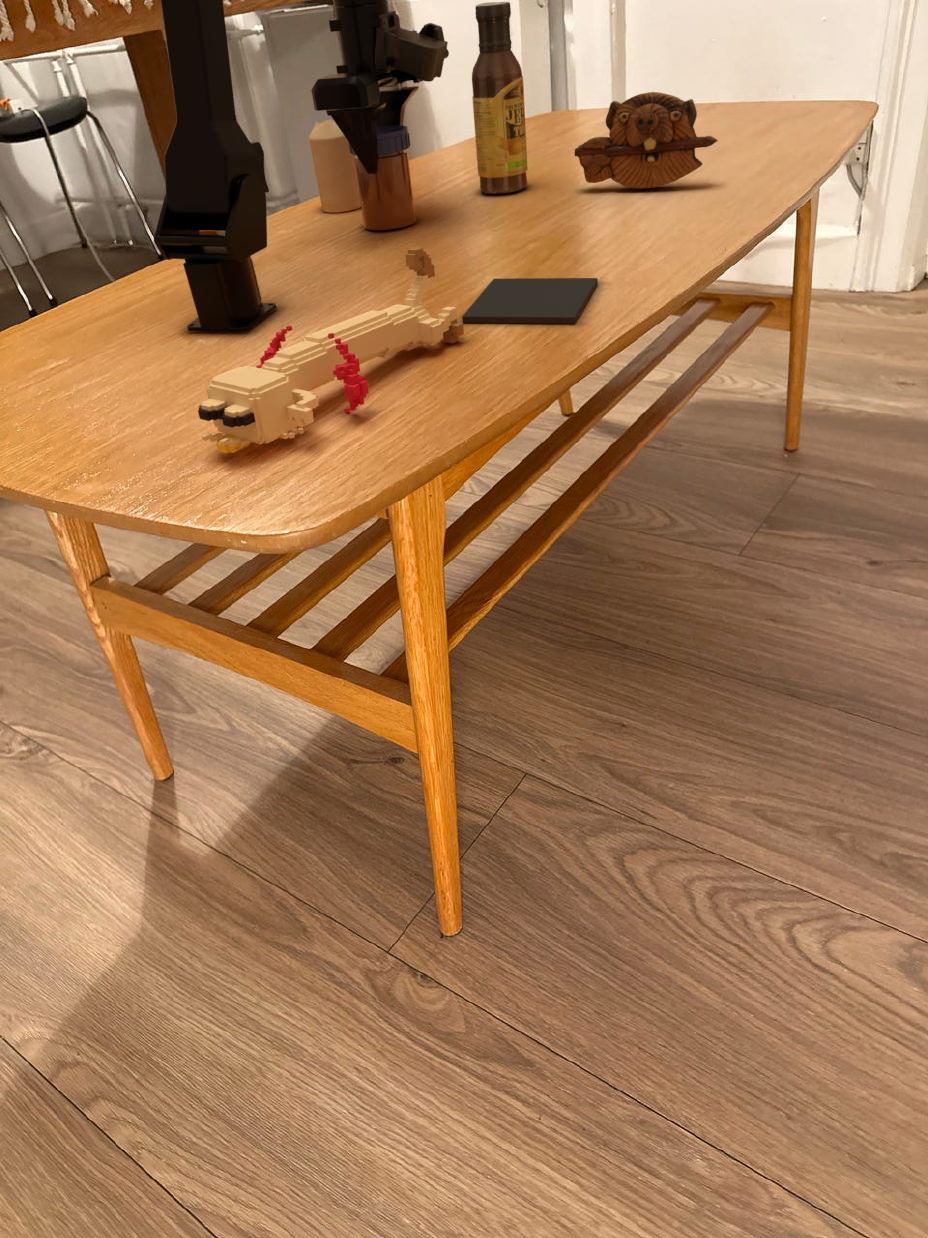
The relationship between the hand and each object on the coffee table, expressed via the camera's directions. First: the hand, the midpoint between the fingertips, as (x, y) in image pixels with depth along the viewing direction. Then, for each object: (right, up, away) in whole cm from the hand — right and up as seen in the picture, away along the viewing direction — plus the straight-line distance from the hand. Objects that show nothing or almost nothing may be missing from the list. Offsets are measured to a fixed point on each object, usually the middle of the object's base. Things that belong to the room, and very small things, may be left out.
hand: (383, 166), depth 105 cm
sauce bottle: (+14, +2, +12) cm, 19 cm away
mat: (+15, -24, -23) cm, 36 cm away
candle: (-6, +1, +13) cm, 15 cm away
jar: (0, -5, +4) cm, 6 cm away
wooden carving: (+31, -1, +5) cm, 31 cm away
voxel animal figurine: (0, -35, -35) cm, 49 cm away
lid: (0, +3, -2) cm, 3 cm away
